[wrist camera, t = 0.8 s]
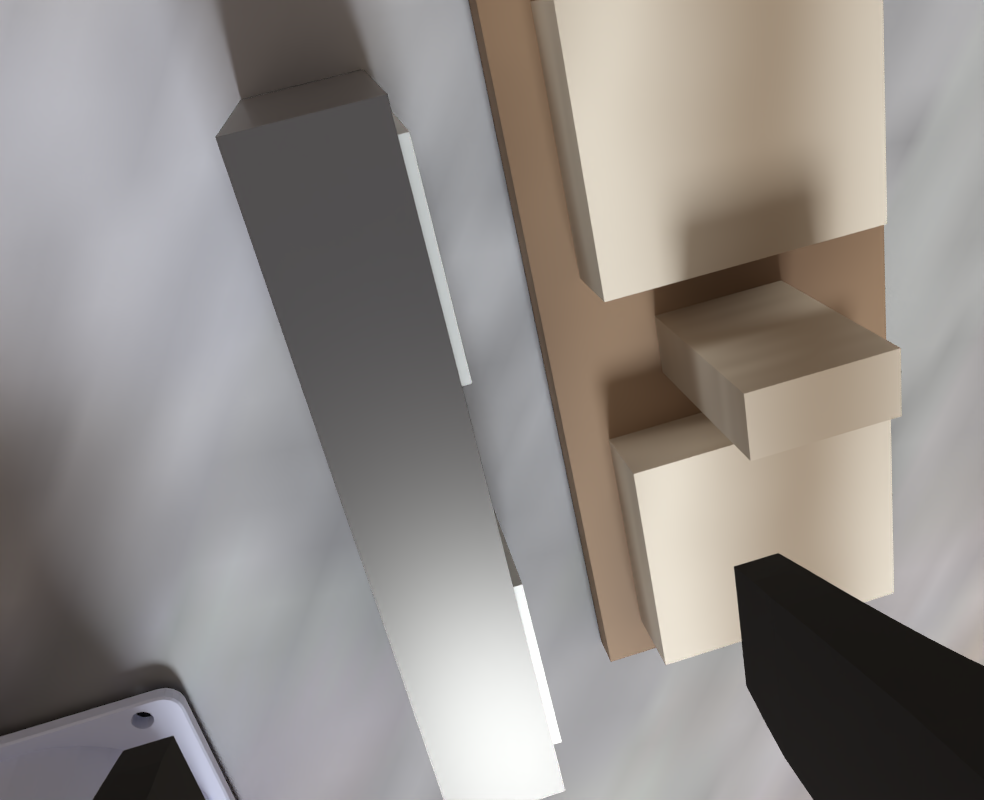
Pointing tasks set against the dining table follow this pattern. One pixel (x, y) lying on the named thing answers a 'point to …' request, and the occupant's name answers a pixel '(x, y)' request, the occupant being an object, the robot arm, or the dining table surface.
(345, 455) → the grey upright panel
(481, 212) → the dining table surface
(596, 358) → the display stand
